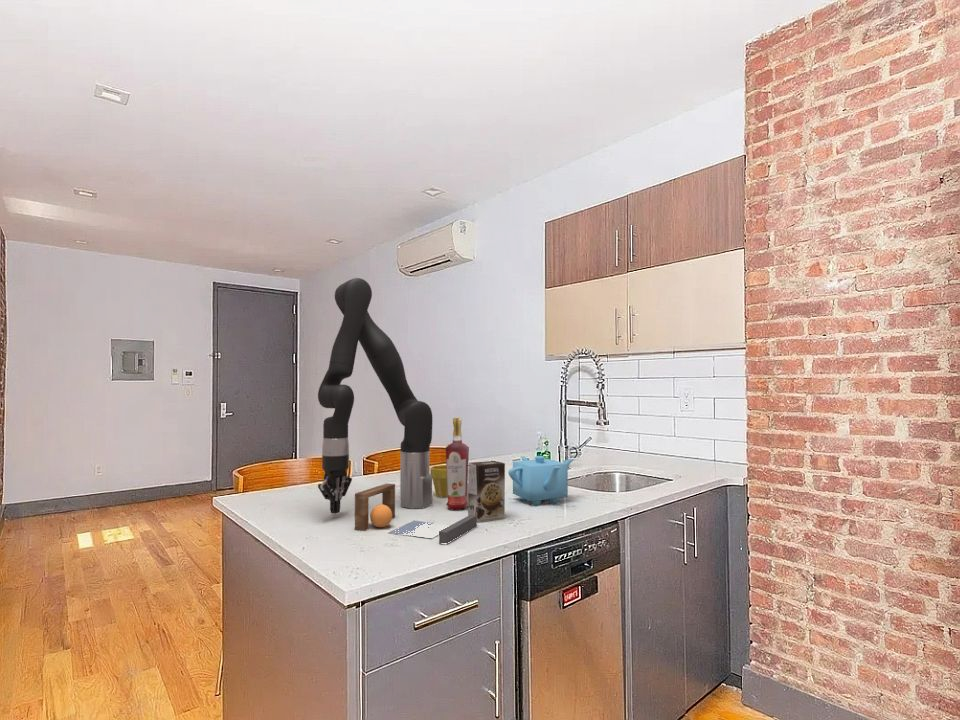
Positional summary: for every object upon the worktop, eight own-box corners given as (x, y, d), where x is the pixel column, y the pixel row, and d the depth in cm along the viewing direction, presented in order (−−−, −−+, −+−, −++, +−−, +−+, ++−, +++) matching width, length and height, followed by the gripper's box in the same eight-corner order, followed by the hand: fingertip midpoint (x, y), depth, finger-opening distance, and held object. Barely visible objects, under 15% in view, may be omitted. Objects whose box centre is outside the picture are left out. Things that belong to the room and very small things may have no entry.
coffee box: (477, 522, 157) (477, 465, 157) (467, 517, 162) (467, 462, 163) (505, 519, 161) (505, 462, 161) (494, 514, 166) (494, 459, 167)
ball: (394, 526, 154) (398, 505, 154) (382, 532, 149) (385, 511, 148) (376, 520, 157) (380, 499, 156) (363, 525, 151) (367, 504, 151)
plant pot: (439, 491, 199) (439, 463, 199) (465, 493, 194) (465, 465, 195) (424, 496, 189) (424, 468, 189) (451, 499, 185) (451, 470, 185)
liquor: (471, 506, 176) (471, 417, 177) (465, 511, 169) (465, 419, 169) (449, 505, 178) (449, 417, 178) (442, 510, 170) (442, 418, 171)
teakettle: (505, 505, 178) (504, 458, 178) (521, 492, 196) (521, 450, 196) (563, 510, 171) (563, 462, 172) (575, 497, 189) (574, 453, 189)
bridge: (394, 517, 162) (395, 484, 162) (363, 531, 148) (364, 494, 148) (386, 516, 163) (386, 483, 163) (354, 529, 150) (354, 493, 150)
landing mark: (454, 526, 153) (454, 525, 153) (431, 539, 141) (431, 538, 141) (413, 521, 158) (413, 520, 158) (388, 533, 146) (388, 532, 146)
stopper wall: (476, 526, 153) (476, 515, 153) (446, 544, 136) (446, 532, 137) (470, 525, 154) (470, 514, 154) (439, 543, 137) (439, 531, 137)
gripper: (331, 457, 154) (330, 520, 154) (360, 450, 166) (359, 509, 166) (309, 455, 157) (309, 517, 157) (339, 449, 169) (339, 506, 169)
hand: (335, 512), depth 162 cm, fingers closed
